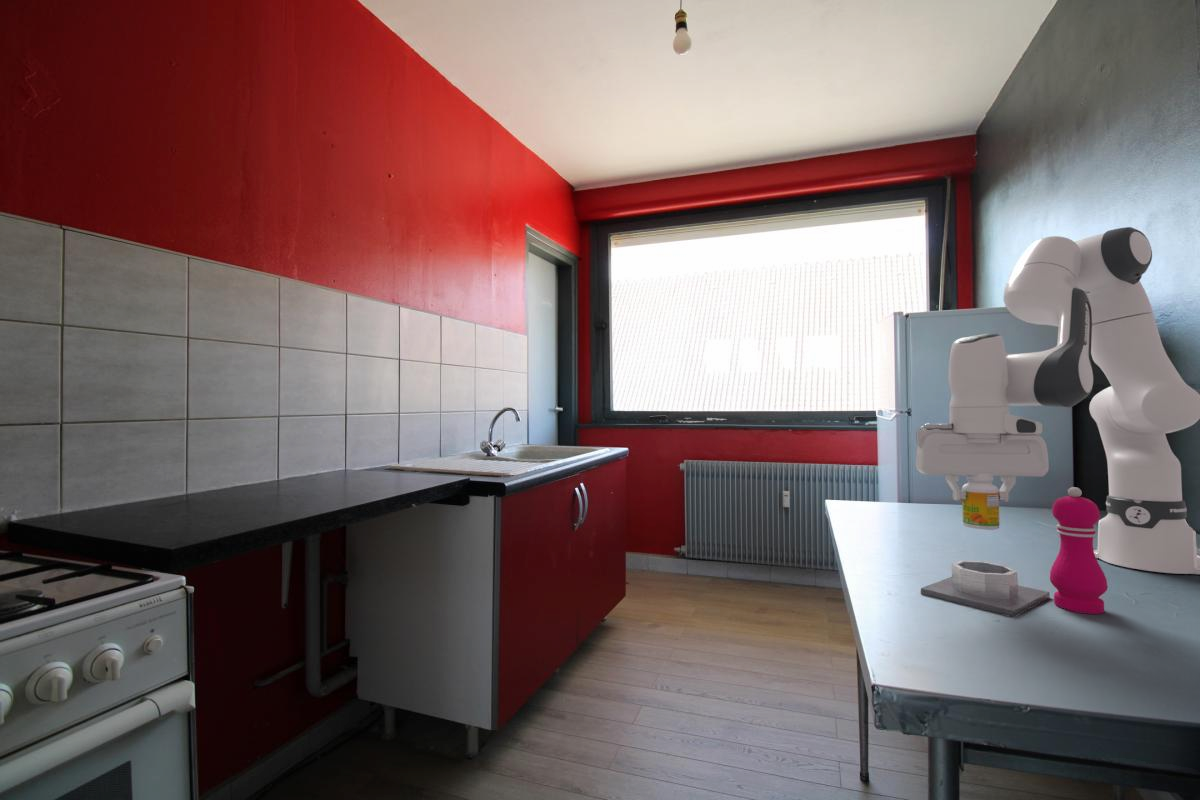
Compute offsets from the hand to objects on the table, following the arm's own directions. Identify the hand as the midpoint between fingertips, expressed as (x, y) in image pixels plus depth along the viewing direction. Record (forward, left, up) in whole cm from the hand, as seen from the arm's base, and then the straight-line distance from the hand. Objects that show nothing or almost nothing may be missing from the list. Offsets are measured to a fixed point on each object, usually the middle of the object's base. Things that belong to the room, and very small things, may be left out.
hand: (980, 500), depth 97 cm
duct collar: (0, 0, -17) cm, 17 cm away
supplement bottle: (0, 0, -5) cm, 5 cm away
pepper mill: (-6, +12, -17) cm, 21 cm away
